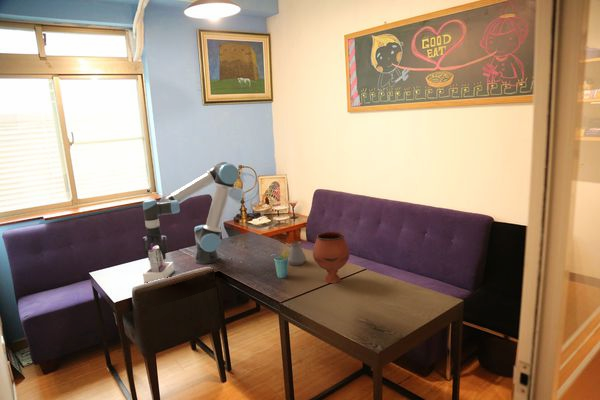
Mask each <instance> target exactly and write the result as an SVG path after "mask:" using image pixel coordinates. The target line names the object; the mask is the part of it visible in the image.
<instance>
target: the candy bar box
mask: <svg viewBox="0 0 600 400" xmlns="http://www.w3.org/2000/svg"><path fill="white" fill-rule="evenodd" d="M161 254H162V252H161V250H160V248H159V246H158V244H156V245H154V246H152V249H150V250H149V251H148V255H149V259H148V262H149V263H150V264H149V265H150V267H151V272H162V271H163V270H164V269H165V268H166V266H165V265H163V266H162V259H161ZM148 255H147V256H148Z"/></svg>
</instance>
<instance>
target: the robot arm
mask: <svg viewBox="0 0 600 400" xmlns="http://www.w3.org/2000/svg"><path fill="white" fill-rule="evenodd" d="M239 176H240V173H239V170H238V168H237V167H236V165H234V164H232V163H228V162H227V161H224V162H219V163H218V164H216V165H214V166H213V167H211V168H210V169H208V170H206V173H204V174H203V175H201V176H199V177H197V178H196V179H194V180H192V181H191V182H189V183H187V184H186V185H184V186H182V187H180V188H179V189H177V190H175V191H173V192H172V193H171V194H168V195H167V196H163V197H161V199H160V200H159V202H158V201H157V200H156V199H154V198H152V199H151V198H150V199H145V200H143V201H142V209H143V210H142V211H143V216H144V223H145V227H146V228H145V232H146V236H144V237H142V242H143V244H142V245H143V252H144V253H143V254H144V255H147V258H148V260H149V255H148V251H149V250H150V249H152V248H153V245H154V244H156V245H158V246H159V248H160V250H161V252H162V254H161V259H162V266H163V265H165V262H166V259H167V257H166V256H167V255H166V254H168V252H169V247H168V243H167V241H168V240H167V238H168V237H167V235H162V233H161V231H162V230H161V226H160V218H159V217H160V216H163V215H164V216H165V215H172V214H173V215H174V214H178V213H179V212H180V211H181V210H180V204H181V203H183V202H185V201H187V200H188V199H189V198H191V197H192V196H194V195H196V194H198V193H200V192H201V191H203V190H204V189H206V188H208V187H209V186H211V185H213V184H214V185H215V189H214V193H213V197H212V200H211V205H210V208H209V211H208V215H207V218H206V223H205V224H200V225H196V226H195V227H194V239H195V245H196V252H195V257H194V262H195V263H197V264H199V265H200V264H201V265H202V264H203V265H206V264H211V263H212V264H213V263H215V262H218V261H219V259H220V255H219V253H218V252H219V251H218V249H219V247H220V246H221V244H222V243H221V241H222V240H221V234H222V229H221V225H222V221H223V218H224V214H225V211H226V205H227V204H228V201H229V200H228V199H229V195H230V193H231V190H232V189H234V187H235V183H236V182H237V181H238V179H239ZM148 241H149V242H148Z"/></svg>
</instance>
